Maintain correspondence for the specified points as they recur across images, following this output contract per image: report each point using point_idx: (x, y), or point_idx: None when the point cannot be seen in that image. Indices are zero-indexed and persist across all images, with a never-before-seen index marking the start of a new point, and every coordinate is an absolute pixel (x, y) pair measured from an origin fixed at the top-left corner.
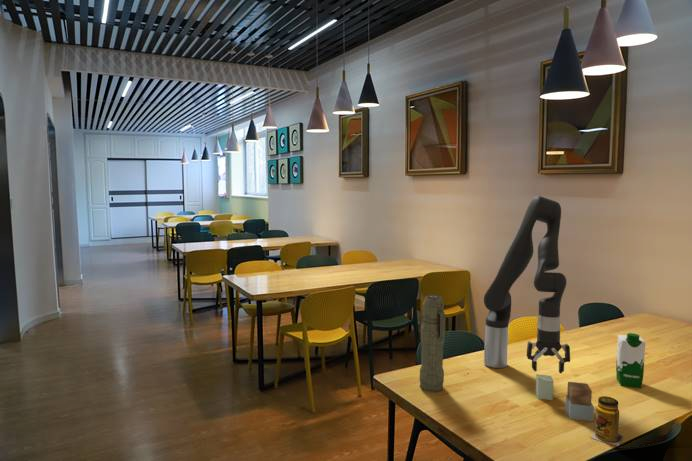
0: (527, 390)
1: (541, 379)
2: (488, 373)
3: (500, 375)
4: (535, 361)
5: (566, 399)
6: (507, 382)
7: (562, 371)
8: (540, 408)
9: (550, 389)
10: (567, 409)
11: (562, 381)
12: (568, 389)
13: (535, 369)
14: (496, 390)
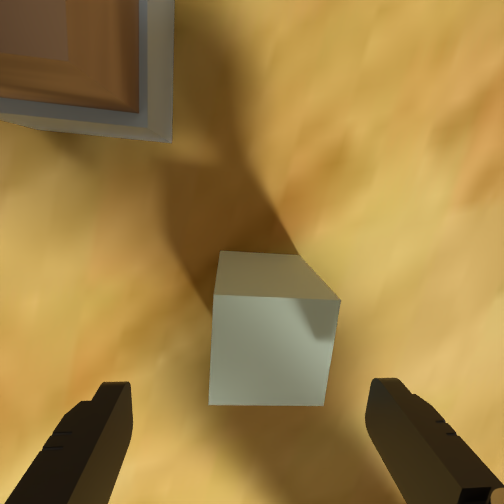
0: None
1: (312, 311)
2: None
3: None
4: (476, 498)
5: (154, 103)
6: None
7: (90, 403)
8: (320, 119)
9: (235, 270)
10: (167, 67)
11: (117, 486)
12: (107, 33)
13: (399, 389)
14: (486, 310)
